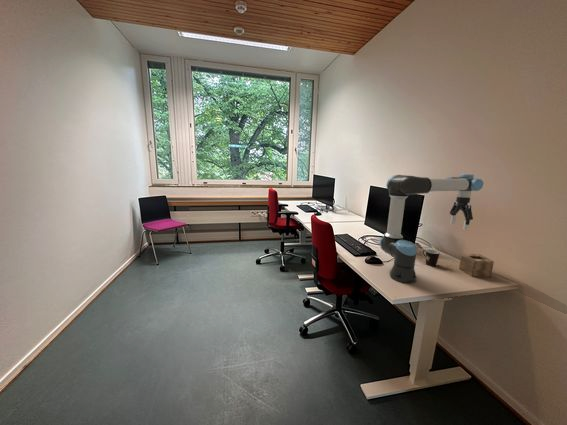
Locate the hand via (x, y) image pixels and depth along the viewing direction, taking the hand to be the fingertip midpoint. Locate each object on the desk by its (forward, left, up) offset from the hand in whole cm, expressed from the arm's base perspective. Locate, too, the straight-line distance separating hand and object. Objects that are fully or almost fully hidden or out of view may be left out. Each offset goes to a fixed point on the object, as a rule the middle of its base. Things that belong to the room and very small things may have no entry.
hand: (458, 226), depth 165 cm
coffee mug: (-16, 0, -29) cm, 33 cm away
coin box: (+6, -13, -29) cm, 32 cm away
